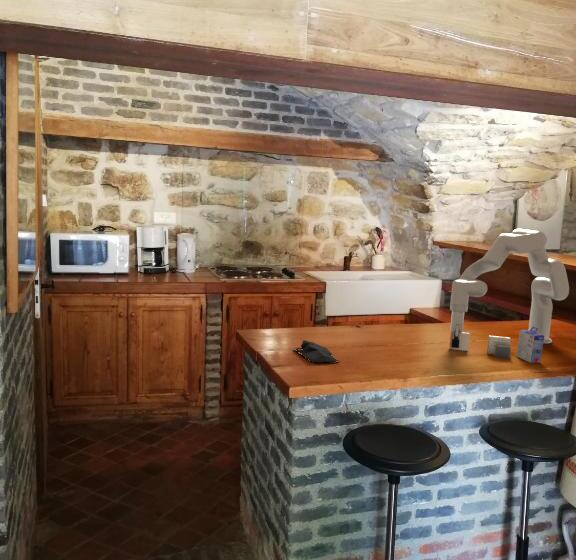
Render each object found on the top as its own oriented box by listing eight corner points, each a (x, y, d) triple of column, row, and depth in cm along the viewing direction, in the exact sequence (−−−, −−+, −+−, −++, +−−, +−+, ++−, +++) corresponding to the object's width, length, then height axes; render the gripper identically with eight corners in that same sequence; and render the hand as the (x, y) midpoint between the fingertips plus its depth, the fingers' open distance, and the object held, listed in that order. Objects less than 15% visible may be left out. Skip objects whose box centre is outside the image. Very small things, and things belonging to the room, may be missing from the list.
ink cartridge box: (541, 363, 243) (545, 330, 240) (530, 363, 241) (534, 330, 239) (526, 355, 252) (530, 324, 250) (515, 356, 251) (519, 324, 248)
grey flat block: (449, 347, 259) (450, 330, 257) (467, 349, 257) (469, 332, 255) (449, 348, 257) (451, 331, 256) (467, 350, 255) (469, 333, 254)
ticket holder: (486, 349, 259) (488, 333, 257) (507, 352, 256) (509, 335, 255) (487, 356, 249) (489, 338, 248) (509, 358, 247) (511, 340, 245)
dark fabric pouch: (306, 366, 227) (307, 355, 226) (291, 350, 248) (292, 339, 247) (342, 364, 231) (343, 353, 230) (324, 348, 252) (325, 338, 251)
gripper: (449, 303, 262) (446, 341, 266) (450, 310, 247) (446, 350, 251) (466, 304, 260) (463, 343, 264) (468, 311, 245) (464, 352, 249)
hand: (455, 346), depth 257 cm, fingers closed on grey flat block
